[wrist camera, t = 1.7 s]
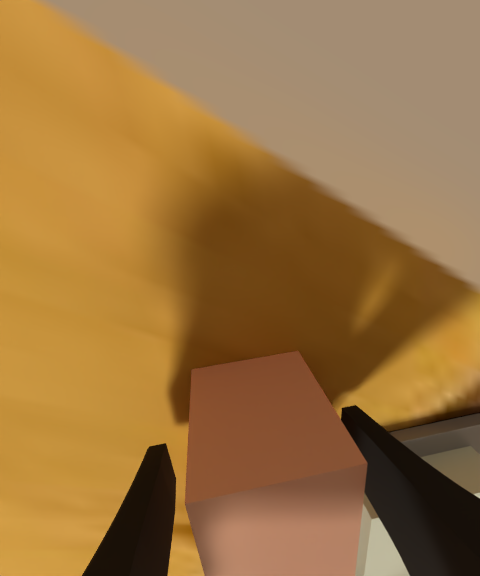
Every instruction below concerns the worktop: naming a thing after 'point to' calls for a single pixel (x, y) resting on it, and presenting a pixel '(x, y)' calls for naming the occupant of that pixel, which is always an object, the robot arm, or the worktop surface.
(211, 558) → the terracotta brick
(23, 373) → the worktop surface
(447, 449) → the stepped square pedestal
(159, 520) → the robot arm
